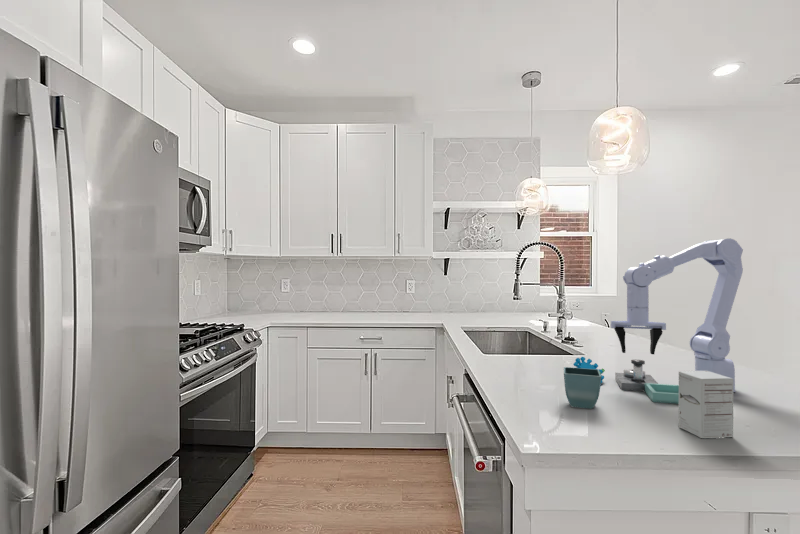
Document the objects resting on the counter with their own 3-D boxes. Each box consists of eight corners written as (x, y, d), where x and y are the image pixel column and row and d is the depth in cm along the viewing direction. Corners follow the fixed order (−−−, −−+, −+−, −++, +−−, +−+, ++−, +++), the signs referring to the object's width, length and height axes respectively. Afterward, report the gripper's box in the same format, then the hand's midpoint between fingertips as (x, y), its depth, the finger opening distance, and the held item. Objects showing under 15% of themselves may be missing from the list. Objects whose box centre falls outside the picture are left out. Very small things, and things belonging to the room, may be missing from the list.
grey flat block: (650, 381, 147) (650, 369, 147) (659, 392, 133) (659, 379, 133) (615, 378, 150) (615, 367, 150) (621, 389, 136) (621, 376, 136)
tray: (700, 395, 130) (700, 386, 130) (713, 406, 119) (713, 396, 119) (644, 391, 134) (644, 382, 134) (652, 401, 124) (652, 392, 124)
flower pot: (599, 403, 123) (598, 368, 123) (601, 412, 115) (601, 376, 115) (563, 400, 126) (563, 366, 126) (563, 409, 117) (563, 373, 117)
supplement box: (677, 427, 104) (677, 370, 104) (708, 426, 104) (708, 369, 104) (701, 439, 96) (701, 378, 96) (735, 438, 97) (734, 377, 97)
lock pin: (643, 386, 140) (643, 359, 140) (645, 389, 136) (645, 362, 136) (630, 385, 141) (630, 359, 141) (632, 388, 137) (632, 361, 138)
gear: (584, 382, 139) (570, 354, 146) (573, 392, 143) (560, 365, 150) (613, 384, 142) (599, 357, 149) (602, 394, 146) (589, 367, 153)
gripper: (612, 307, 137) (612, 354, 137) (668, 309, 133) (668, 356, 133) (609, 305, 144) (610, 350, 144) (662, 307, 139) (663, 352, 139)
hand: (637, 353), depth 139 cm, fingers open, 7 cm apart
